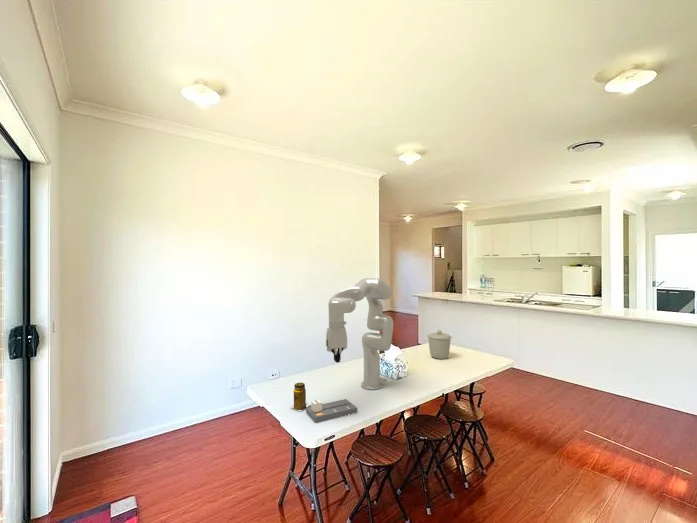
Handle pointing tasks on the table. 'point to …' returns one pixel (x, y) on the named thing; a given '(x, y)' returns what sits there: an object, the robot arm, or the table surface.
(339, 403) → the fader console
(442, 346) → the canister
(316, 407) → the fader knob
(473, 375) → the table surface
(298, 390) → the condiment
